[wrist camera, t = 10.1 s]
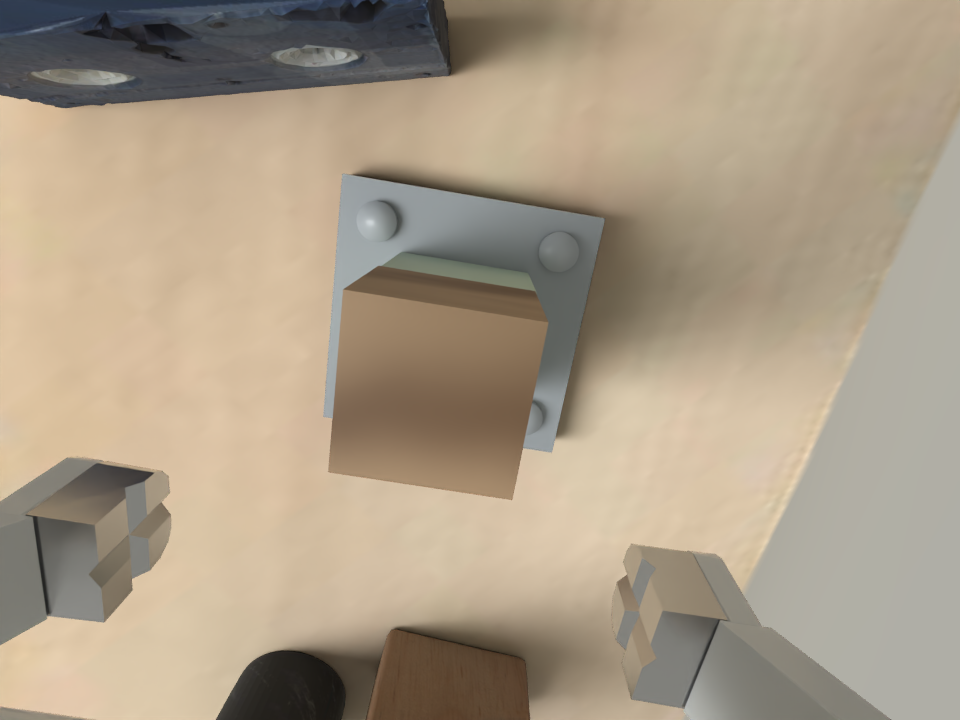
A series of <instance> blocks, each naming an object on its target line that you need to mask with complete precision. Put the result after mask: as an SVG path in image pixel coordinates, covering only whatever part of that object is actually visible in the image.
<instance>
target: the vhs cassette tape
mask: <svg viewBox="0 0 960 720" xmlns="http://www.w3.org/2000/svg"><path fill="white" fill-rule="evenodd" d="M448 42H449V40H448V20H447V18H446V11H445V8H444V1H443V0H0V95H3V96H9V97H14V98H18V99H28V100H30V101H32V102H40V103H43V104H46V105H54V106H55V107H60V108H72V107H78V106H84V105H105V104H106V103H111V104H115V103H130V102H140V101H152V100H166V99H180V98H191V97H202V96H213V95H230V94H238V93H250V92H262V91H274V90H287V89H299V88H311V87H324V86H336V85H349V84H360V83H372V82H382V81H395V80H407V79H415V78H427V77H440V76H449V75H450V73H451V65H450V52H449V43H448Z"/></svg>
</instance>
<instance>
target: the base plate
mask: <svg viewBox="0 0 960 720" xmlns="http://www.w3.org/2000/svg"><path fill="white" fill-rule="evenodd" d="M604 222H605V218H601V217H597V216H591V215H585V214H579V213H573V212H567V211H562V210H556V209H550V208H544V207H538V206H532V205H526V204H521V203H515V202H509V201H503V200H497V199H491V198H485V197H479V196H474V195H468V194H462V193H456V192H450V191H444V190H438V189H432V188H427V187H421V186H415V185H409V184H403V183H397V182H391V181H385V180H380V179H374V178H368V177H362V176H356V175H350V174H342V185H341V197H340V210H339V223H338V236H337V249H336V262H335V274H334V287H333V300H332V313H331V326H330V339H329V351H328V364H327V377H326V390H325V403H324V416H323V417H328V418H333V408H334V395H335V383H336V370H337V358H338V346H339V333H340V321H341V308H342V296H343V289H344V288H346V287H347V286H349V285H350V284H352V283H353V282H355V281H356V280H358V279H359V278H361V277H362V276H364V275H365V274H367V273H368V272H370V271H371V270H373V269H374V268H376V267H377V266H382V265H384V264H385V263H386V262H388V261H389V260H391V259H392V258H394V257H395V256H396V255H398V254H399V253H401V252H405V253H411V254H417V255H423V256H429V257H435V258H441V259H447V260H453V261H459V262H465V263H471V264H477V265H483V266H489V267H495V268H501V269H507V270H513V271H519V272H525V273H528V274H529V276H530V279H531V281H532V283H533V285H534V288H535V290H536V292H537V297H538V299H539V301H540V304H541V306H542V308H543V311H544V313H545V315H546V318H547V320H548V322H549V323H548V328H547V333H546V338H545V342H544V347H543V352H542V357H541V362H540V367H539V372H538V377H537V382H536V386H535V391H534V396H533V401H532V406H531V411H530V416H529V421H528V425H527V430H526V435H525V440H524V445H523V448H526V449H532V450H539V451H545V452H551V453H552V450H553V446H554V441H555V437H556V432H557V428H558V424H559V419H560V415H561V410H562V406H563V402H564V397H565V393H566V388H567V384H568V380H569V375H570V371H571V366H572V362H573V358H574V353H575V349H576V345H577V340H578V336H579V331H580V327H581V323H582V318H583V314H584V309H585V305H586V301H587V296H588V292H589V287H590V283H591V279H592V274H593V270H594V265H595V261H596V257H597V252H598V248H599V243H600V239H601V235H602V230H603V226H604Z"/></svg>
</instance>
